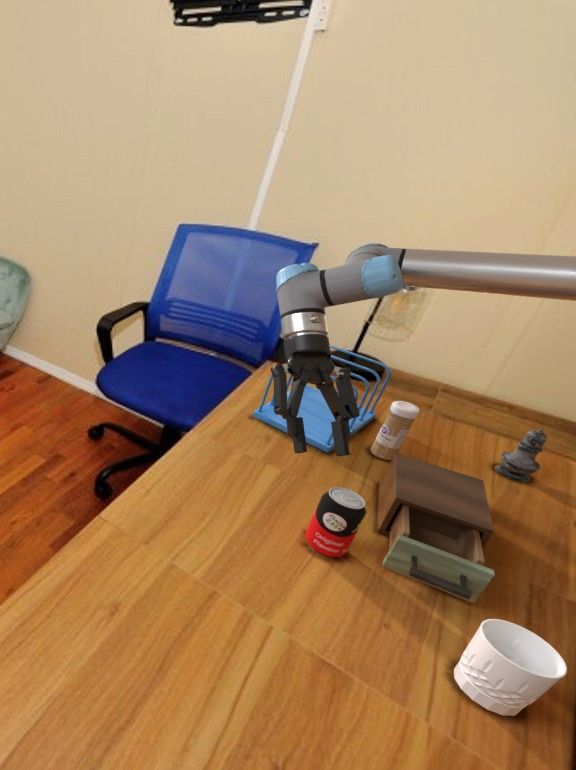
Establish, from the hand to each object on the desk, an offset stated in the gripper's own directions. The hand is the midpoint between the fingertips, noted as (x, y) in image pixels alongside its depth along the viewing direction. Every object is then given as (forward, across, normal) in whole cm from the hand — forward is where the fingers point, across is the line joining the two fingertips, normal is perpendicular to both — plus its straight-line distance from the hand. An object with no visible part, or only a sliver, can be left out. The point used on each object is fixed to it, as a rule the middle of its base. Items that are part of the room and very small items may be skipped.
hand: (321, 453), depth 95 cm
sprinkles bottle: (-4, +27, +24) cm, 36 cm away
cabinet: (+11, +21, +9) cm, 25 cm away
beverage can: (+17, 0, +3) cm, 17 cm away
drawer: (+18, +14, 0) cm, 23 cm away
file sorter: (-13, +19, +33) cm, 41 cm away
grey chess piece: (-2, +50, +22) cm, 55 cm away
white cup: (+34, +9, -14) cm, 37 cm away
